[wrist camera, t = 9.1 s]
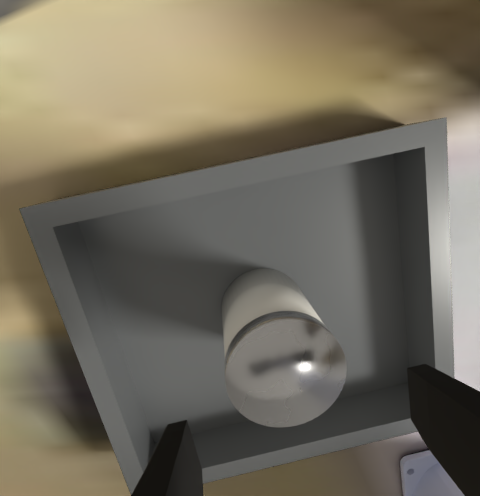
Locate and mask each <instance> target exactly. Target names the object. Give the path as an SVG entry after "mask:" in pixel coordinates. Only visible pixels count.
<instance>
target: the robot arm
mask: <svg viewBox="0 0 480 496" xmlns="http://www.w3.org/2000/svg"><path fill="white" fill-rule="evenodd" d="M407 376H408V389H409V401H410V414H411V420H412V422H413V424H414V425H415V427H416V429H417V430H418V432H419V434H420V435H421V437H422V439H423V440H424V442H425V443H426V445H427V447H428V448H429V450H427V451H423V452H419V453H415V454H411V455H407V456H404V457H403V458H402V459H401V461H400V468H401V479H402V489H403V496H480V392H479V391H477V390H475V389H473V388H472V387H470V386H468V385H466V384H464V383H462V382H460V381H458V380H456V379H454V378H452V377H450V376H449V375H447V374H445V373H443V372H441V371H439V370H437V369H435V368H433V367H431V366H429V365H427V364H422V365H418V366H413V367H409V368H407ZM131 496H203V478H202V467H201V464H200V461H199V458H198V454H197V451H196V448H195V444H194V441H193V438H192V434H191V431H190V428H189V425H188V421H187V420H184V421H180V422H175V423H171V424H168V425H167V427H166V428H165V430H164V432H163V434H162V436H161V439H160V441H159V443H158V445H157V447H156V449H155V451H154V453H153V455H152V457H151V459H150V461H149V463H148V465H147V467H146V469H145V470H144V472H143V474H142V476H141V478H140V480H139V482H138V484H137V485H136V487H135V489H134V491H133V493H132V495H131Z"/></svg>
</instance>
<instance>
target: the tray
mask: <svg viewBox="0 0 480 496" xmlns="http://www.w3.org/2000/svg"><path fill="white" fill-rule="evenodd" d="M19 210H20V212H21V215H22V217H23V220H24V222H25V225H26V228H27V230H28V233H29V235H30V238H31V240H32V243H33V245H34V248H35V251H36V253H37V256H38V258H39V261H40V263H41V266H42V268H43V271H44V274H45V276H46V279H47V281H48V284H49V286H50V289H51V292H52V294H53V297H54V299H55V302H56V304H57V307H58V309H59V312H60V315H61V317H62V320H63V322H64V325H65V327H66V330H67V332H68V335H69V338H70V340H71V343H72V345H73V348H74V350H75V353H76V355H77V358H78V361H79V363H80V366H81V368H82V371H83V373H84V376H85V378H86V381H87V384H88V386H89V389H90V391H91V394H92V396H93V399H94V401H95V404H96V407H97V409H98V412H99V414H100V417H101V419H102V422H103V424H104V427H105V430H106V432H107V435H108V437H109V440H110V442H111V445H112V447H113V450H114V453H115V455H116V458H117V460H118V463H119V465H120V468H121V470H122V473H123V476H124V478H125V481H126V483H127V486H128V488H129V491H130V493H131V495H132V493H133V491H134V489H135V487H136V485H137V484H138V482H139V480H140V478H141V476H142V474H143V472H144V470H145V469H146V467H147V465H148V463H149V461H150V459H151V457H152V455H153V453H154V451H155V449H156V447H157V445H158V443H159V441H160V439H161V436H162V434H163V432H164V430H165V428H166V427H167V425H168V424H171V423H175V422H180V421H184V420H187V421H188V425H189V428H190V431H191V434H192V438H193V441H194V444H195V448H196V451H197V454H198V458H199V461H200V464H201V467H202V478H203V484H204V483H208V482H212V481H216V480H220V479H224V478H229V477H233V476H237V475H241V474H245V473H249V472H253V471H257V470H261V469H266V468H270V467H274V466H278V465H282V464H286V463H290V462H294V461H298V460H302V459H307V458H311V457H315V456H319V455H323V454H327V453H331V452H335V451H339V450H344V449H348V448H352V447H356V446H360V445H364V444H368V443H372V442H376V441H381V440H385V439H389V438H393V437H397V436H401V435H405V434H409V433H413V432H418V430H417V429H416V427H415V425H414V424H413V422H412V420H411V414H410V401H409V389H408V376H407V368H409V367H413V366H418V365H422V364H427V365H429V366H431V367H433V368H435V369H437V370H439V371H441V372H443V373H445V374H447V375H449V376H450V377H452V378H454V350H453V317H452V284H451V251H450V219H449V186H448V153H447V120H446V118H440V119H435V120H429V121H423V122H418V123H412V124H407V125H402V126H397V127H392V128H388V129H383V130H378V131H374V132H369V133H364V134H360V135H355V136H350V137H346V138H341V139H336V140H332V141H327V142H322V143H318V144H313V145H308V146H304V147H299V148H294V149H290V150H285V151H280V152H275V153H271V154H266V155H261V156H257V157H252V158H247V159H243V160H238V161H233V162H229V163H224V164H219V165H215V166H210V167H205V168H201V169H196V170H191V171H187V172H182V173H177V174H172V175H168V176H163V177H158V178H154V179H149V180H144V181H140V182H135V183H130V184H126V185H121V186H116V187H112V188H107V189H102V190H98V191H93V192H88V193H84V194H79V195H74V196H70V197H65V198H60V199H55V200H51V201H47V202H43V203H39V204H36V205H32V206H28V207H24V208H20V209H19ZM264 268H266V269H274V270H277V271H280V272H282V273H284V274H286V275H288V276H289V277H290V278H291V279H292V280H293V281H294V282H295V283H296V284H297V286H298V287H299V289H300V290H301V291H302V293H303V294H304V296H305V297H306V299H307V300H308V302H309V303H310V305H311V306H312V307H313V309H314V310H315V312H316V313H317V315H318V316H319V318H320V319H321V321H322V322H323V323H324V325H325V326H326V327H327V328H328V329H329V330H330V331H331V333H332V334H333V336H334V337H335V339H336V340H337V341H338V343H339V344H340V346H341V348H342V350H343V352H344V355H345V359H346V366H347V372H346V379H345V383H344V386H343V388H342V391H341V392H340V394H339V396H338V398H337V399H336V400H335V402H334V403H333V404H332V405H331V406H330V407H329V408H328V409H327V410H326V411H325V412H324V413H322V414H321V415H319V416H318V417H316V418H314V419H313V420H311V421H308V422H306V423H303V424H300V425H297V426H291V427H269V426H264V425H260V424H258V423H255V422H253V421H251V420H249V419H248V418H246V417H245V416H243V415H242V414H241V413H240V412H239V411H238V410H237V409H236V408H235V407H234V405H233V404H232V402H231V400H230V398H229V396H228V393H227V390H226V384H225V365H224V364H225V351H224V338H223V324H222V300H223V297H224V294H225V292H226V290H227V288H228V287H229V286H230V284H231V283H232V282H233V281H234V280H235V279H236V278H238V277H239V276H240V275H242V274H244V273H246V272H248V271H251V270H255V269H264Z"/></svg>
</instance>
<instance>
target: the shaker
mask: <svg viewBox="0 0 480 496" xmlns="http://www.w3.org/2000/svg"><path fill="white" fill-rule="evenodd" d="M222 324H223V338H224V351H225V364H224V365H225V384H226V390H227V393H228V396H229V398H230V400H231V402H232V404H233V405H234V407H235V408H236V409H237V410H238V411H239V412H240V413H241V414H242V415H243V416H245V417H246V418H248V419H249V420H251V421H253V422H255V423H258V424H260V425H264V426H269V427H291V426H297V425H300V424H303V423H306V422H308V421H311V420H313V419H314V418H316V417H318V416H319V415H321V414H322V413H324V412H325V411H326V410H327V409H328V408H329V407H330V406H331V405H332V404H333V403H334V402H335V400H336V399H337V398H338V396H339V394H340V392H341V391H342V388H343V386H344V383H345V379H346V372H347V366H346V359H345V355H344V352H343V350H342V348H341V346H340V344H339V343H338V341H337V340H336V339H335V337H334V336H333V334H332V333H331V331H330V330H329V329H328V328H327V327H326V326H325V325H324V323H323V322H322V321H321V319H320V318H319V316H318V315H317V313H316V312H315V310H314V309H313V307H312V306H311V305H310V303H309V302H308V300H307V299H306V297H305V296H304V294H303V293H302V291H301V290H300V289H299V287H298V286H297V284H296V283H295V282H294V281H293V280H292V279H291V278H290V277H289V276H288V275H286V274H284V273H282V272H280V271H277V270H274V269H266V268H264V269H255V270H251V271H248V272H246V273H244V274H242V275H240V276H239V277H238V278H236V279H235V280H234V281H233V282H232V283H231V284H230V286H229V287H228V288H227V290H226V292H225V294H224V297H223V300H222Z"/></svg>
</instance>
